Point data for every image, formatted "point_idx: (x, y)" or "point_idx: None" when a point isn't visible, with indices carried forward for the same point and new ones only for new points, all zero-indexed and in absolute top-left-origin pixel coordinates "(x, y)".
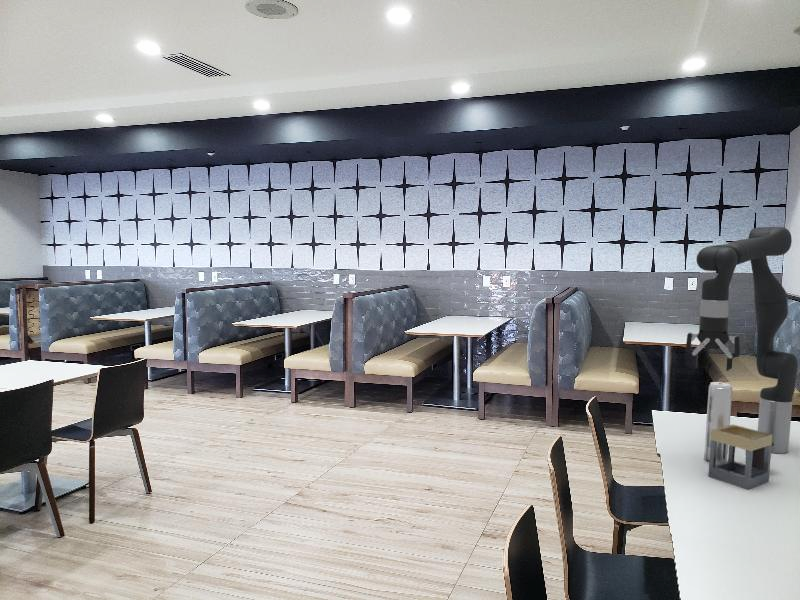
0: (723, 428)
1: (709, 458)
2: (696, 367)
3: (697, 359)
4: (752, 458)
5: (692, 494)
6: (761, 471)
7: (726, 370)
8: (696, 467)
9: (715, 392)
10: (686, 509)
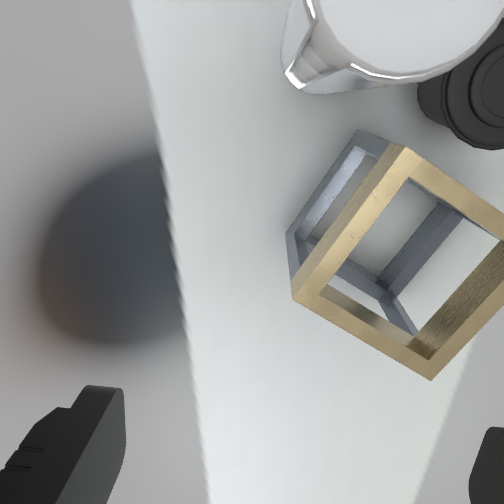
0: (347, 251)
1: (298, 79)
2: (120, 463)
3: (73, 473)
4: (445, 125)
5: (241, 381)
6: (447, 207)
7: (470, 490)
8: (253, 162)
9: (345, 74)
10: (230, 461)
